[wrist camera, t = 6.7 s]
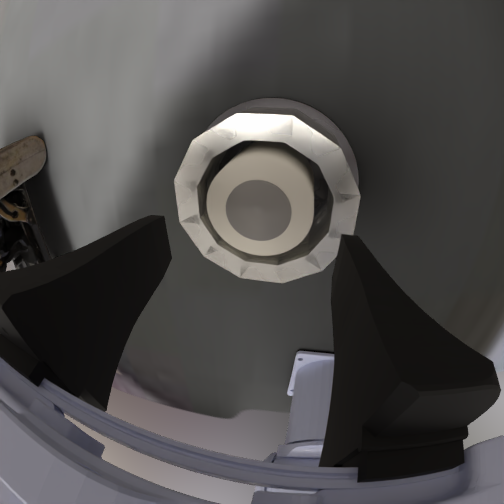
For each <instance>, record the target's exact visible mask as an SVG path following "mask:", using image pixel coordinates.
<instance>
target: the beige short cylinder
mask: <svg viewBox="0 0 504 504" xmlns="http://www.w3.org/2000/svg"><path fill="white" fill-rule="evenodd" d="M207 212H208V215H209V219H210V221H211V223H212V225H213V227H214V229H215V230H216V232H217V233H218V234H219V235H220V236H221V237H222V238H223V239H224V240H225V241H226V242H227V243H228V244H230V245H231V246H233V247H234V248H236V249H238V250H240V251H243V252H245V253H249V254H253V255H260V256H271V255H277V254H281V253H284V252H286V251H289V250H291V249H292V248H294V247H295V246H297V245H298V244H299V243H300V242H301V241H302V240H303V239H304V238H305V237H306V235H307V234H308V232H309V230H310V228H311V225H312V222H313V217H314V174H313V170H312V168H311V165H310V163H309V161H308V160H307V158H306V157H305V156H304V155H303V154H302V153H300V152H299V151H297V150H296V149H294V148H292V147H291V146H289V145H288V144H286V143H285V142H272V141H256V142H253V143H251V144H249V145H247V146H246V147H244V148H243V149H242V150H241V151H240V152H239V153H238V154H237V155H236V156H235V157H234V158H233V159H232V160H231V161H230V162H229V163H228V164H227V165H226V166H225V167H224V168H223V169H222V170H221V171H220V172H219V173H218V174H217V175H216V176H215V178H214V179H213V181H212V182H211V185H210V187H209V190H208V194H207Z"/></svg>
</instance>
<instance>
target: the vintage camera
mask: <svg viewBox="0 0 504 504" xmlns="http://www.w3.org/2000/svg"><path fill="white" fill-rule="evenodd" d="M45 161H46V148H45V145H44V141H43V140H41V139H40V138H38V137H37V136H29V137H26V138H24V139H22V140H19V141H17V142H14V143H12V144H10V145H8V146H6V147H4V148H1V149H0V272H5V271H6V267H7V263H8V262H10V261H11V260H13V262H14V265H15V268H16V269H20V268H24V267H28V266H32V265H36V264H39V263H42V262H45V261H48V260H51V257H50V254H49V252H48V249H47V246H46V244H45V241H44V239H43V236H42V234H41V231H40V229H39V226H38V224H37V221H36V218H35V215H34V212H33V209H32V206H31V202H30V199H29V196H28V193H27V190H26V187H25V184H24V182H25V181H26V180H28V179H30V178H31V177H33V176H34V175H36V174H37V173H38V172H39V171H40V170H41V169H42V167H43V165H44V163H45ZM56 258H57V257H56Z"/></svg>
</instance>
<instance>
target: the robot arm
mask: <svg viewBox="0 0 504 504" xmlns="http://www.w3.org/2000/svg"><path fill="white" fill-rule="evenodd" d="M171 259H172V256H171V251H170V245H169V240H168V235H167V229H166V224H165V218H164V216H157V215H150V216H147V217H144V218H142V219H139V220H137V221H135V222H133V223H131V224H129V225H127V226H125V227H123V228H121V229H119V230H117V231H115V232H113V233H111V234H109V235H107V236H105V237H102V238H100V239H98V240H96V241H94V242H92V243H90V244H88V245H86V246H84V247H82V248H79V249H77V250H75V251H72V252H70V253H67V254H65V255H62V256H60V257H57V258H54V259H51V260H48V261H45V262H42V263H39V264H36V265H32V266H28V267H24V268H20V269H16V270H11V271H5V272H0V504H219V503H215V502H210V501H207V500H203V499H199V498H196V497H192V496H189V495H186V494H183V493H180V492H177V491H174V490H171V489H168V488H165V487H162V486H160V485H157V484H155V483H152V482H150V481H147V480H145V479H143V478H140V477H138V476H136V475H133V474H131V473H129V472H127V471H125V470H123V469H120V468H118V467H116V466H114V465H112V464H110V463H109V462H107V461H105V460H103V459H102V457H101V455H102V453H103V451H104V448H105V447H104V445H103V444H101V443H100V442H98V441H97V440H95V439H94V438H92V437H91V436H89V435H88V434H86V433H85V432H83V431H82V430H81V429H79V428H78V427H77V426H76V425H74V424H73V423H72V422H70V421H69V420H68V419H66V418H65V417H64V413H65V414H66V415H68V416H70V417H71V418H73V419H75V420H76V421H78V422H80V423H81V424H83V425H85V426H87V427H88V428H90V429H92V430H94V431H96V432H98V433H99V434H101V435H103V436H105V437H107V438H109V439H111V440H114V441H116V442H117V443H120V444H122V445H124V446H126V447H128V448H131V449H133V450H135V451H138V452H140V453H142V454H145V455H147V456H150V457H152V458H155V459H158V460H160V461H163V462H166V463H169V464H172V465H174V466H177V467H180V468H184V469H187V470H190V471H194V472H197V473H201V474H204V475H208V476H212V477H216V478H220V479H224V480H229V481H233V482H238V483H244V484H249V485H255V492H254V495H253V499H252V502H251V504H504V436H499V437H496V438H493V439H489V440H486V441H483V442H480V443H477V444H475V445H473V446H470V447H469V448H467V449H465V450H464V448H463V439H466V438H467V437H468V427H467V425H469V424H470V423H471V422H473V421H474V420H475V419H477V418H478V417H479V416H481V415H482V414H483V413H484V412H486V411H487V410H488V409H489V408H490V407H491V406H492V405H493V404H494V403H495V402H496V400H497V399H498V397H499V395H500V391H501V389H500V385H499V381H498V378H497V374H496V371H495V367H494V364H493V362H492V361H491V360H489V359H488V358H486V357H484V356H483V355H481V354H480V353H478V352H477V351H475V350H473V349H472V348H470V347H469V346H467V345H466V344H464V343H463V342H461V341H460V340H459V339H457V338H456V337H455V336H453V335H452V334H450V333H449V332H448V331H447V330H445V329H444V328H443V327H442V326H440V325H439V324H438V323H437V322H436V321H434V320H433V319H432V318H431V317H430V316H429V315H427V314H426V313H425V312H424V311H423V310H422V309H421V308H420V307H419V306H418V305H417V304H416V303H415V302H414V301H413V300H412V299H411V298H410V297H409V296H407V295H406V293H405V292H404V291H403V290H402V289H401V288H400V287H399V286H398V285H397V284H396V283H395V281H394V280H393V279H392V278H391V277H390V276H389V274H388V273H387V272H386V271H385V270H384V268H383V267H382V266H381V265H380V264H379V262H378V261H377V260H376V258H375V257H374V256H373V255H372V253H371V252H370V251H369V249H368V248H367V247H366V246H365V244H364V243H363V242H362V240H361V239H360V238H359V237H358V236H355V235H347V234H341V239H340V244H339V249H338V254H337V258H336V263H335V268H334V272H333V276H332V292H331V306H332V321H333V337H334V354H328V353H318V352H309V351H298V352H297V353H296V357H295V362H294V366H293V370H292V375H291V379H290V383H289V387H288V391H287V394H288V395H290V396H293V397H292V404H291V410H290V417H289V422H288V428H287V434H286V440H285V445H278V451H277V453H276V452H275V453H272V454H270V455H269V456H268V457H267V458H266V459H265V460H264V461H258V460H253V459H247V458H241V457H236V456H231V455H227V454H223V453H218V452H214V451H210V450H206V449H203V448H199V447H195V446H192V445H188V444H185V443H182V442H179V441H176V440H173V439H170V438H167V437H164V436H161V435H158V434H155V433H152V432H150V431H147V430H145V429H142V428H140V427H137V426H134V425H132V424H130V423H128V422H125V421H123V420H121V419H118V418H116V417H114V416H112V415H110V414H108V413H106V412H105V411H106V410H107V405H108V400H109V396H110V392H111V387H112V383H113V380H114V376H115V373H116V370H117V367H118V363H119V361H120V358H121V355H122V353H123V350H124V347H125V345H126V342H127V340H128V338H129V335H130V333H131V331H132V329H133V326H134V325H135V323H136V321H137V319H138V317H139V316H140V314H141V312H142V311H143V309H144V307H145V306H146V304H147V303H148V301H149V299H150V298H151V296H152V295H153V293H154V291H155V290H156V288H157V287H158V285H159V283H160V282H161V280H162V279H163V277H164V275H165V272H166V270H167V268H168V266H169V264H170V261H171Z"/></svg>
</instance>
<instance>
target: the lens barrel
mask: <svg viewBox="0 0 504 504" xmlns="http://www.w3.org/2000/svg"><path fill="white" fill-rule="evenodd" d="M256 141H272V142H285V143H286V144H288V145H289V146H291V147H292V148H294V149H296V150H297V151H299V152H300V153H302V154H303V155H304V156H305V157H306V158H307V160H308V161H309V163H310V165H311V168H312V170H313V174H314V217H313V222H312V225H311V228H310V230H309V232H308V234H307V235H306V237H305V238H304V239H303V240H302V241H301V242H300V243H299V244H298V245H297V246H295V247H294V248H292V249H291V250H289V251H286V252H284V253H281V254H277V255H271V256H260V255H253V254H249V253H245V252H243V251H240V250H238V249H236V248H234V247H233V246H231V245H230V244H228V243H227V242H226V241H225V240H224V239H223V238H222V237H221V236H220V235H219V234H218V233H217V232H216V230H215V229H214V227H213V225H212V223H211V221H210V219H209V215H208V212H207V194H208V190H209V187H210V185H211V182H212V181H213V179H214V178H215V176H216V175H217V174H218V173H219V172H220V171H221V170H222V169H223V168H224V167H225V166H226V165H227V164H228V163H229V162H230V161H231V160H232V159H233V158H234V157H235V156H236V155H237V154H238V153H239V152H240V151H241V150H242V149H243V148H244V147H246V146H247V145H249V144H251V143H253V142H256ZM174 183H175V191H176V199H177V207H178V214H179V221H180V223H181V225H182V226H183V228H184V229H185V230H186V232H187V233H188V235H189V236H190V238H191V239H192V240H193V242H194V243H195V245H196V246H197V247H198V249H199V250H200V251H201V253H202V254H203V256H204V257H206V258H208V259H209V260H211V261H213V262H214V263H216V264H218V265H219V266H221V267H223V268H225V269H226V270H228V271H230V272H231V273H233V274H235V275H237V276H238V277H240V278H246V279H253V280H261V281H269V282H277V283H285V282H288V281H291V280H295V279H298V278H301V277H304V276H308V275H311V274H314V273H317V272H320V271H323V270H324V269H325V268H326V267H327V266H328V265H329V264H330V263H331V262H332V261H333V260H334V259H335V258H336V256H337V254H338V249H339V244H340V239H341V234H347V235H353V233H354V228H355V223H356V218H357V213H358V208H359V203H360V197H361V195H360V192H359V190H358V185H359V177H358V168H357V163H356V159H355V156H354V153H353V150H352V148H351V146H350V144H349V143H348V141H347V139H346V137H345V136H344V134H343V133H342V132H341V130H340V129H339V128H338V127H337V126H336V125H335V124H334V123H333V122H332V121H331V120H330V119H329V118H328V117H327V116H325V115H324V114H323V113H321V112H320V111H318V110H316V109H315V108H313V107H311V106H309V105H306V104H304V103H301V102H298V101H295V100H291V99H285V98H261V99H255V100H251V101H247V102H244V103H241V104H239V105H237V106H235V107H232V108H230V109H229V110H227V111H226V112H224V113H223V114H221V115H220V116H219V117H218V118H217V119H216V120H214V121H213V122H212V123H211V125H210V126H209V127H208V128H207V130H206V131H205V132H204V133H203V134H201V135H200V136H198V137H196V138H195V139H193V141H192V143H191V145H190V147H189V149H188V151H187V153H186V155H185V157H184V160H183V162H182V164H181V166H180V168H179V171H178V173H177V175H176V177H175V180H174Z"/></svg>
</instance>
